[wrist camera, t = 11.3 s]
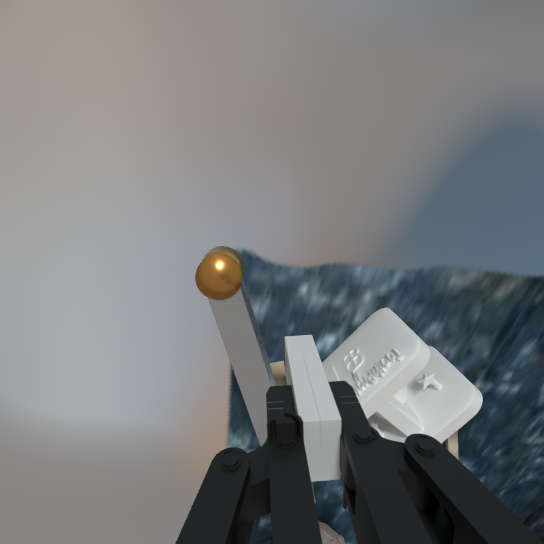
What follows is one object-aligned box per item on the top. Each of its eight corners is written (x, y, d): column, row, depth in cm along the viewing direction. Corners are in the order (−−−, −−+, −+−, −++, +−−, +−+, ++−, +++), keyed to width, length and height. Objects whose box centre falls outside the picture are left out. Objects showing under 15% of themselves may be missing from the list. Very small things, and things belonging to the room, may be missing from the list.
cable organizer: (352, 417, 46) (383, 494, 35) (298, 376, 44) (313, 443, 33) (432, 345, 44) (493, 403, 32) (379, 297, 41) (425, 341, 30)
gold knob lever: (241, 240, 25) (239, 248, 22) (312, 470, 32) (318, 501, 29) (192, 254, 25) (183, 264, 22) (272, 480, 32) (274, 512, 29)
